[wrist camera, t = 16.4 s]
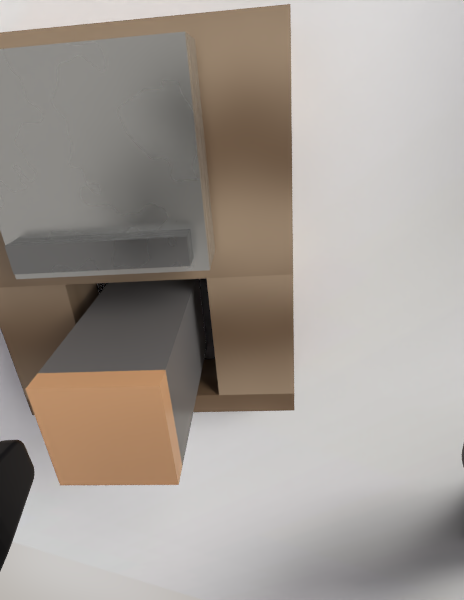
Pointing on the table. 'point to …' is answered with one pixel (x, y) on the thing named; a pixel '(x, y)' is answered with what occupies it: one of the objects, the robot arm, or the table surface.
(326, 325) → the table surface
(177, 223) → the panel
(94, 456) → the plug
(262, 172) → the socket board
